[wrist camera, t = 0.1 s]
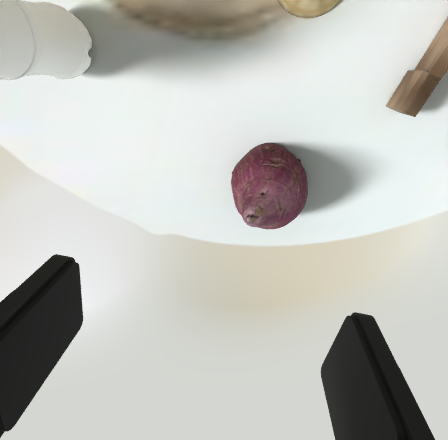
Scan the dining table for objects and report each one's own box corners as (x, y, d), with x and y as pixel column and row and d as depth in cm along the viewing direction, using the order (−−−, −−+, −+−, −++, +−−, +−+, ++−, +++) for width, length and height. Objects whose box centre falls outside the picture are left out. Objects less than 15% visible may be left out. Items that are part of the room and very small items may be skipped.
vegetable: (228, 190, 45) (180, 239, 33) (255, 128, 39) (209, 158, 27) (289, 223, 44) (264, 287, 31) (326, 163, 38) (313, 213, 25)
